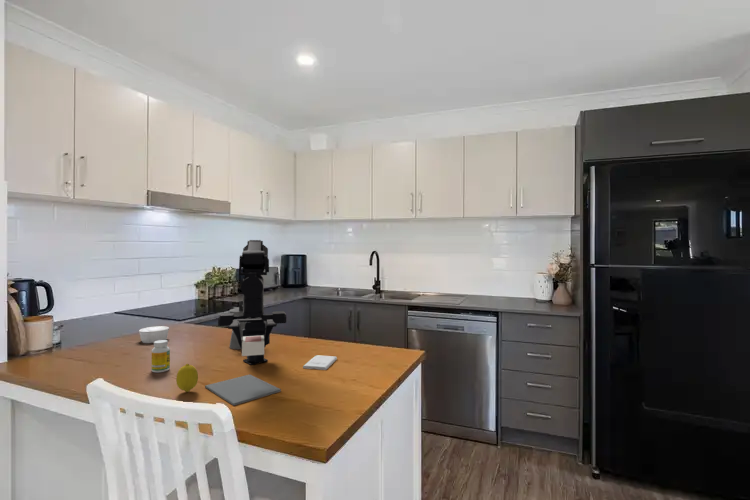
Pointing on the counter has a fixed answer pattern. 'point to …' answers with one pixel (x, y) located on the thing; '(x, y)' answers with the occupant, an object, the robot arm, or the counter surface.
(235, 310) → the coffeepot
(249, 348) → the card box
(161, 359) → the supplement bottle
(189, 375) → the lemon
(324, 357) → the external hard drive
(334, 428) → the counter surface
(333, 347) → the counter surface
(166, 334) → the ramekin
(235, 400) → the mat
